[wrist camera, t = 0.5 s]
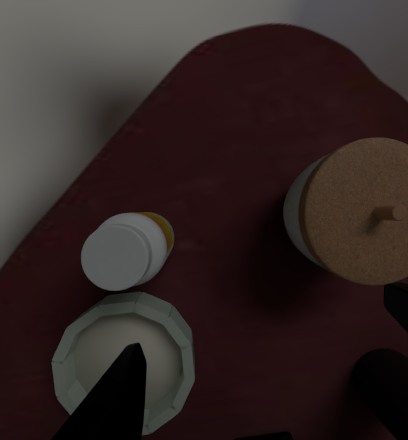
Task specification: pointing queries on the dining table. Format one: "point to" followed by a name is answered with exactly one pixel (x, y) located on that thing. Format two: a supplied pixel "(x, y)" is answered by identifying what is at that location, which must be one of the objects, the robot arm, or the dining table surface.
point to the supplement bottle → (127, 250)
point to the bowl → (116, 342)
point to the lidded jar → (354, 212)
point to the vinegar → (385, 388)
